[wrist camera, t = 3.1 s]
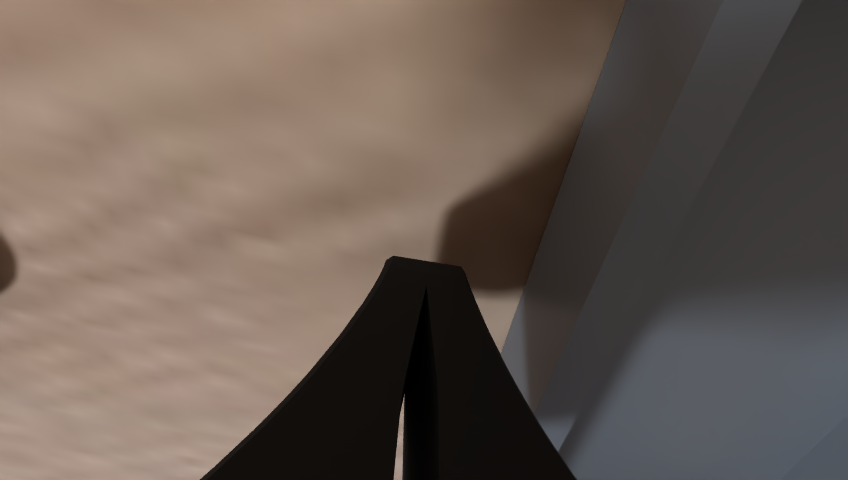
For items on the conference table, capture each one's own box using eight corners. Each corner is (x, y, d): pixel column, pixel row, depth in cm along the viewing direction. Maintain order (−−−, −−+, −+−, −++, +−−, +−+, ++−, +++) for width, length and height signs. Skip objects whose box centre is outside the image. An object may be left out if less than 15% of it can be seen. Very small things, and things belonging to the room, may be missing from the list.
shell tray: (727, 513, 14) (778, 622, 12) (458, 474, 14) (458, 579, 11) (1276, -31, 6) (1724, -8, 4) (680, -150, 6) (812, -196, 4)
